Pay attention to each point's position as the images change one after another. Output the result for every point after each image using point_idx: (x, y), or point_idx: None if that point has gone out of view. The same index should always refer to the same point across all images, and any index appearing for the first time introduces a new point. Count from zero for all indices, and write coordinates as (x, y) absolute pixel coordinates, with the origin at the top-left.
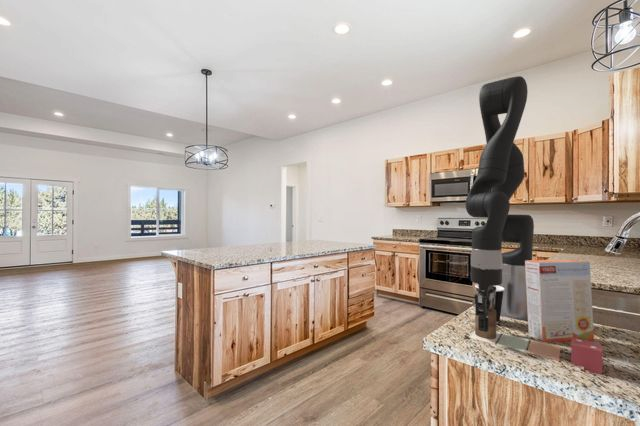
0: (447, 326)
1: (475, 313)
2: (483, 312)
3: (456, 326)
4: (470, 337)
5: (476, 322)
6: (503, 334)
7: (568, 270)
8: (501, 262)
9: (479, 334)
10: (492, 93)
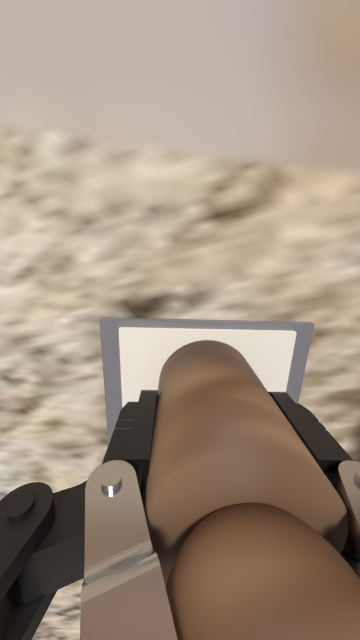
0: (243, 168)
1: (9, 502)
2: (9, 597)
3: (276, 220)
4: (120, 335)
5: (176, 388)
6: None
7: None
8: None
9: (161, 372)
10: None
